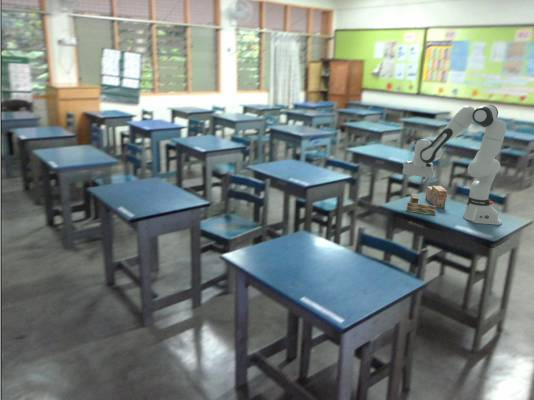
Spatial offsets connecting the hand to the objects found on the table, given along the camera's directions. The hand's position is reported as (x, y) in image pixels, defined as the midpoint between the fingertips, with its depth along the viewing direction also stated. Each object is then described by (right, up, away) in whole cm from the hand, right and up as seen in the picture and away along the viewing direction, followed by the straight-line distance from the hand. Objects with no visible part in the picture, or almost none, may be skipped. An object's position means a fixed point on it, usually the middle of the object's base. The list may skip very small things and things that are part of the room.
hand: (416, 182), depth 304 cm
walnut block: (0, -15, +5) cm, 16 cm away
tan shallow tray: (0, -20, -9) cm, 22 cm away
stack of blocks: (+16, -15, +9) cm, 24 cm away
